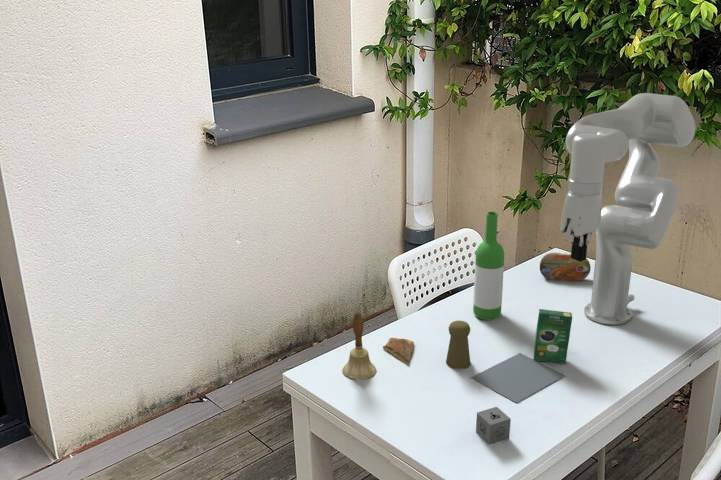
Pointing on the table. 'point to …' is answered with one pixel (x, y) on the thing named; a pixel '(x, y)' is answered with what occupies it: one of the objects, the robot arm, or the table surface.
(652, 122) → the robot arm
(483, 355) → the table surface
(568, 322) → the coffee box
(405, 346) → the shard
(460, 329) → the cork
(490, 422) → the dice cube
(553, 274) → the tin
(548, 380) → the slate mat
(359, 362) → the hand bell
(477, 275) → the wine bottle
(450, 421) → the table surface
